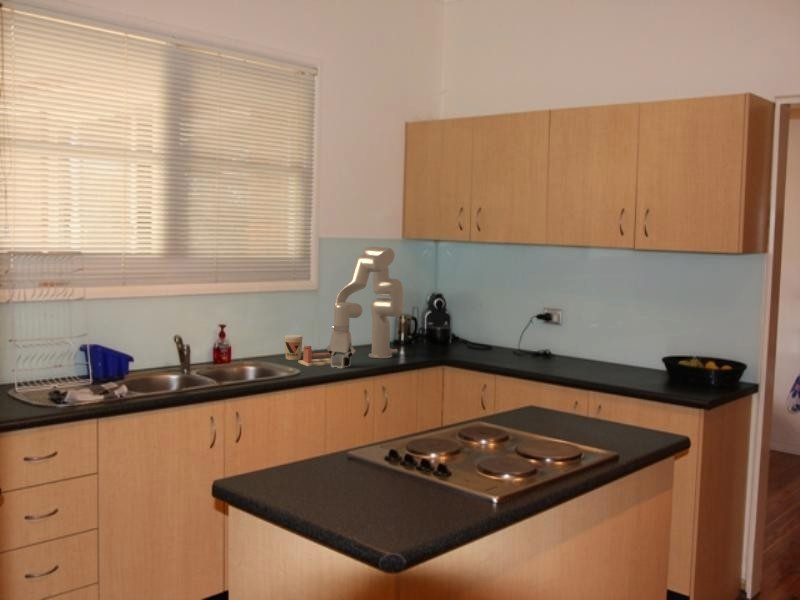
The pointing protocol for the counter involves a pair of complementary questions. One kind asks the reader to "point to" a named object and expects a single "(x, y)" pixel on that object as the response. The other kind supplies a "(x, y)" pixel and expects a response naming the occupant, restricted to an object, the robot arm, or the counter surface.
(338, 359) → the coupler lock
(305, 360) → the red toy hammer
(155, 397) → the counter surface
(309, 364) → the birch board
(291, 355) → the coffee cup
